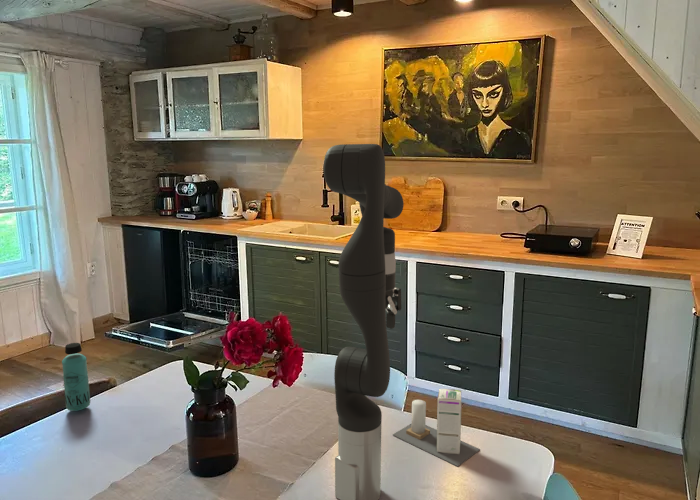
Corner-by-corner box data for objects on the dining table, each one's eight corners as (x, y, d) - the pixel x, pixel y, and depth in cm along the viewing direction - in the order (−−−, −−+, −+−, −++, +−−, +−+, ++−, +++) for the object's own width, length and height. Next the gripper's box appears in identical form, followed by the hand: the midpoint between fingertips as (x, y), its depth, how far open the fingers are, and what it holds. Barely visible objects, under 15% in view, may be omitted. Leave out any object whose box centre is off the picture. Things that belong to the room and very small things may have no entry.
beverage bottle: (66, 407, 158) (59, 342, 154) (92, 403, 161) (85, 338, 157) (65, 418, 152) (58, 350, 148) (92, 413, 155) (85, 346, 151)
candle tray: (457, 466, 130) (458, 432, 128) (392, 435, 143) (393, 403, 141) (479, 450, 137) (481, 416, 135) (416, 421, 150) (417, 391, 148)
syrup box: (460, 455, 134) (462, 400, 131) (435, 452, 135) (437, 397, 132) (460, 442, 139) (462, 389, 136) (436, 440, 140) (438, 387, 138)
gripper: (372, 277, 129) (371, 342, 132) (410, 267, 138) (408, 328, 142) (349, 272, 134) (349, 335, 137) (387, 263, 144) (386, 322, 147)
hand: (379, 331), depth 139 cm, fingers open, 8 cm apart
